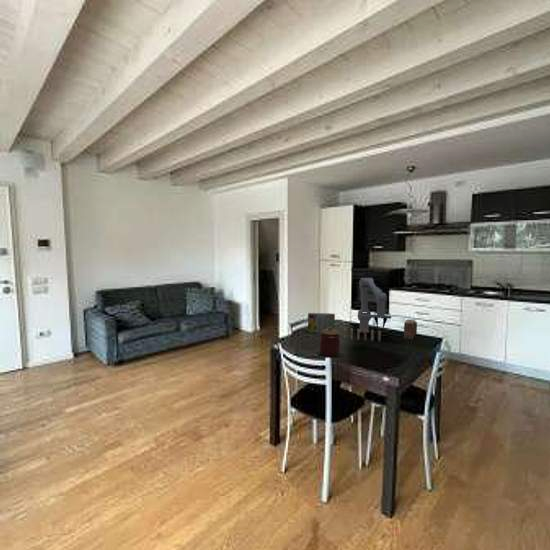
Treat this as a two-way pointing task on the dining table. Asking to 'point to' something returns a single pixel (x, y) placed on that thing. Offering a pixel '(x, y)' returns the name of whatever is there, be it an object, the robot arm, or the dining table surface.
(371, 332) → the domino
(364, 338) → the terracotta domino
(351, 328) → the domino
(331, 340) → the canister
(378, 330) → the domino
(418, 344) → the dining table surface
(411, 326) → the stack of blocks
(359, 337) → the domino
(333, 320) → the snack box
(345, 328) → the domino
